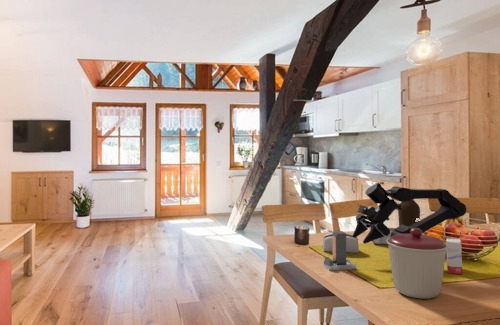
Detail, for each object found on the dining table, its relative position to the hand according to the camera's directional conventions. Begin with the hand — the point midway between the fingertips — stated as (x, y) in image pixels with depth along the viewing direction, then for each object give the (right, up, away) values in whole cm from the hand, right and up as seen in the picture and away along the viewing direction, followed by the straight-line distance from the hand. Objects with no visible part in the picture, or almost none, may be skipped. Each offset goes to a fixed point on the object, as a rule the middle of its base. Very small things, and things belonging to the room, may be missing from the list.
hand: (358, 239), depth 138 cm
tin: (+24, -10, +32) cm, 41 cm away
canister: (+10, -11, -27) cm, 31 cm away
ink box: (+35, -10, -7) cm, 37 cm away
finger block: (-8, -10, -1) cm, 13 cm away
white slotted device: (-2, -11, +21) cm, 24 cm away
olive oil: (+41, -9, +44) cm, 61 cm away
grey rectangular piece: (-8, -11, -1) cm, 13 cm away
